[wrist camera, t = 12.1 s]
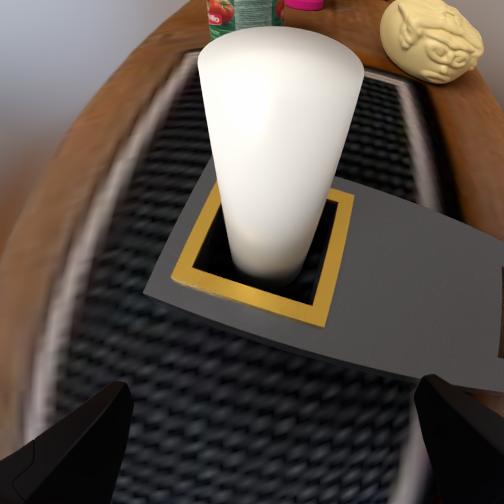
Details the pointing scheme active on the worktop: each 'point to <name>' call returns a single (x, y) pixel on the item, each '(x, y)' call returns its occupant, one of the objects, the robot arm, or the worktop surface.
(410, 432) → the worktop surface
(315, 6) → the pepper mill
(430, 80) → the sculpture
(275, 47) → the peg
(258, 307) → the grey board with holes
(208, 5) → the canned tomato
